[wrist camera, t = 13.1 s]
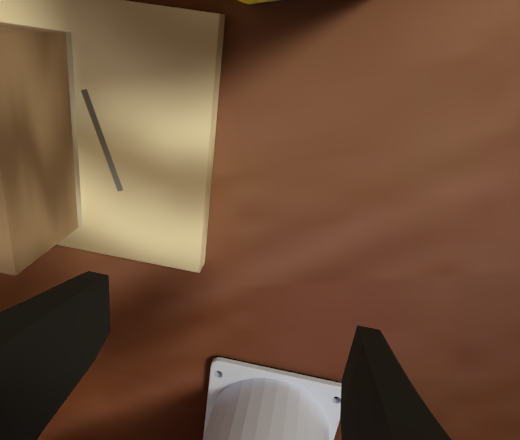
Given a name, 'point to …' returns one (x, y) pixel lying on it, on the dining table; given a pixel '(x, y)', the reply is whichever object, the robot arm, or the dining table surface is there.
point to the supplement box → (257, 1)
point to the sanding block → (36, 144)
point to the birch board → (140, 123)
